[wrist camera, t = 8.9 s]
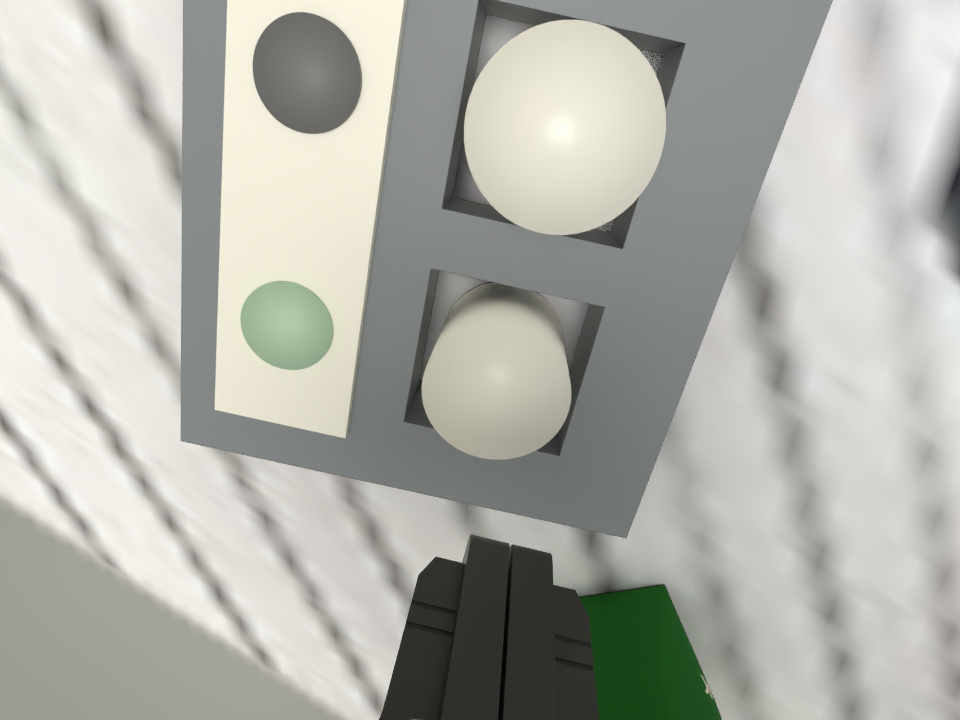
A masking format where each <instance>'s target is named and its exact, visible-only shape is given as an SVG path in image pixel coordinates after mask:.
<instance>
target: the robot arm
mask: <svg viewBox="0 0 960 720" xmlns="http://www.w3.org/2000/svg"><path fill="white" fill-rule="evenodd" d="M591 644H592V642H591V632H590V622H589V615H588V614H587V612H586V610H585V608H584V606H583V604H582V602H581V600H580V599H579V597H578V595H577V593H576V591H575V590H572V589H568V588H564V587H559V586H555V585H553V564H552V555H551V554H550V553H546V552H542V551H538V550H534V549H530V548H526V547H521V546H517V545H513V544H512V545H511V546H510V547H509V544H508V543H504V542H500V541H496V540H492V539H488V538H483V537H479V536H475V535H470V537H469V540H468V544H467V547H466V551H465V555H464V559H463V562H462V563H459V562H455V561H451V560H447V559H443V558H439V557H435V558H434V559H433V560H432V561H431V562H430V563H429V565H428V566H427V567H426V568H425V569H424V570H423V571H422V572H421V573H420V574H419V576H418V579H417V583H416V587H415V591H414V595H413V598H412V602H411V606H410V610H409V613H408V617H407V621H406V625H405V629H404V632H403V636H402V640H401V644H400V648H399V651H398V655H397V659H396V663H395V666H394V670H393V674H392V678H391V682H390V685H389V689H388V693H387V697H386V701H385V704H384V708H383V711H382V714H381V717H380V719H379V720H599V711H598V701H597V691H596V681H595V672H593V668H594V662H593V652H592V649H591Z"/></svg>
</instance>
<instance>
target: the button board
mask: <svg viewBox="0 0 960 720" xmlns="http://www.w3.org/2000/svg"><path fill="white" fill-rule="evenodd" d="M832 1H833V0H407V5H406V13H405V20H404V27H403V35H402V42H401V49H400V57H399V64H398V71H397V79H396V86H395V94H394V101H393V108H392V116H391V123H390V130H389V138H388V145H387V152H386V160H385V167H384V174H383V182H382V189H381V197H380V204H379V211H378V219H377V226H376V233H375V241H374V248H373V255H372V263H371V270H370V277H369V285H368V292H367V300H366V307H365V314H364V322H363V329H362V336H361V344H360V351H359V358H358V366H357V373H356V380H355V388H354V395H353V403H352V410H351V417H350V425H349V432H348V435H347V436H346V438H341V437H336V436H332V435H327V434H323V433H318V432H314V431H309V430H304V429H300V428H295V427H291V426H286V425H282V424H277V423H272V422H268V421H263V420H259V419H254V418H250V417H245V416H241V415H236V414H231V413H227V412H222V411H218V410H215V378H216V346H217V314H218V282H219V250H220V218H221V186H222V154H223V122H224V90H225V58H226V26H227V0H183V126H182V307H181V441H183V442H188V443H192V444H197V445H201V446H206V447H211V448H215V449H220V450H224V451H229V452H233V453H238V454H243V455H247V456H252V457H256V458H261V459H265V460H270V461H275V462H279V463H284V464H288V465H293V466H298V467H302V468H307V469H311V470H316V471H320V472H325V473H330V474H334V475H339V476H343V477H348V478H352V479H357V480H362V481H366V482H371V483H375V484H380V485H384V486H389V487H394V488H398V489H403V490H407V491H412V492H416V493H421V494H426V495H430V496H435V497H439V498H444V499H449V500H453V501H458V502H462V503H467V504H471V505H476V506H481V507H485V508H490V509H494V510H499V511H503V512H508V513H513V514H517V515H522V516H526V517H531V518H535V519H540V520H545V521H549V522H554V523H558V524H563V525H568V526H572V527H577V528H581V529H586V530H590V531H595V532H600V533H604V534H609V535H613V536H618V537H622V538H627V535H628V533H629V530H630V527H631V525H632V522H633V520H634V517H635V514H636V512H637V509H638V507H639V504H640V501H641V499H642V496H643V494H644V491H645V488H646V486H647V483H648V481H649V478H650V475H651V473H652V470H653V467H654V465H655V462H656V460H657V457H658V454H659V452H660V449H661V447H662V444H663V441H664V439H665V436H666V434H667V431H668V428H669V426H670V423H671V421H672V418H673V415H674V413H675V410H676V408H677V405H678V402H679V400H680V397H681V395H682V392H683V389H684V387H685V384H686V382H687V379H688V376H689V374H690V371H691V368H692V366H693V363H694V361H695V358H696V355H697V353H698V350H699V348H700V345H701V342H702V340H703V337H704V335H705V332H706V329H707V327H708V324H709V322H710V319H711V316H712V314H713V311H714V309H715V306H716V303H717V301H718V298H719V296H720V293H721V290H722V288H723V285H724V282H725V280H726V277H727V275H728V272H729V269H730V267H731V264H732V262H733V259H734V256H735V254H736V251H737V249H738V246H739V243H740V241H741V238H742V236H743V233H744V230H745V228H746V225H747V223H748V220H749V217H750V215H751V212H752V210H753V207H754V204H755V202H756V199H757V197H758V194H759V191H760V189H761V186H762V183H763V181H764V178H765V176H766V173H767V170H768V168H769V165H770V163H771V160H772V157H773V155H774V152H775V150H776V147H777V144H778V142H779V139H780V137H781V134H782V131H783V129H784V126H785V124H786V121H787V118H788V116H789V113H790V111H791V108H792V105H793V103H794V100H795V97H796V95H797V92H798V90H799V87H800V84H801V82H802V79H803V77H804V74H805V71H806V69H807V66H808V64H809V61H810V58H811V56H812V53H813V51H814V48H815V45H816V43H817V40H818V38H819V35H820V32H821V30H822V27H823V25H824V22H825V19H826V17H827V14H828V11H829V9H830V6H831V4H832ZM486 14H489V15H493V16H498V17H502V18H506V19H511V20H515V21H520V22H524V23H528V24H533V25H540V24H544V23H547V22H551V21H558V20H583V21H589V22H593V23H597V24H600V25H603V26H606V27H608V28H610V29H612V30H614V31H616V32H618V33H619V34H621V35H622V36H624V37H625V38H627V39H628V40H629V41H630V42H631V43H632V44H634V45H635V46H636V47H637V48H638V49H643V50H647V51H652V52H656V53H660V54H663V56H662V60H661V63H660V67H659V70H658V73H657V79H658V81H659V84H660V86H661V90H662V94H663V97H664V102H665V110H666V133H665V142H664V146H663V150H662V154H661V158H660V160H659V163H658V165H657V168H656V170H655V172H654V174H653V176H652V178H651V180H650V182H649V183H648V185H647V186H646V188H645V189H644V191H643V192H642V194H641V195H640V196H639V197H638V198H637V199H636V200H635V202H634V203H633V204H632V205H631V206H629V207H628V208H627V209H626V210H625V211H624V212H623V213H621V214H620V215H619V216H617V217H616V218H615V220H614V223H613V226H612V230H611V233H610V232H606V231H601V230H597V229H592V230H589V231H585V232H581V233H577V234H569V235H549V234H543V233H538V232H534V231H531V230H528V229H525V228H523V227H521V226H519V225H516V224H515V223H513V222H511V221H510V220H508V219H507V218H505V217H504V216H503V215H501V214H500V213H499V212H498V211H497V210H495V208H494V207H493V206H489V205H485V204H480V203H476V202H472V201H467V200H463V199H458V198H454V197H453V191H454V186H455V180H456V175H457V170H458V164H459V159H460V153H461V148H462V142H463V137H464V121H465V113H466V109H467V105H468V100H469V97H470V94H471V92H472V88H473V82H474V77H475V71H476V66H477V60H478V55H479V50H480V44H481V39H482V33H483V28H484V22H485V17H486ZM439 270H441V271H445V272H450V273H454V274H459V275H463V276H468V277H472V278H477V279H481V280H486V281H490V282H495V283H499V284H504V285H508V286H513V287H517V288H522V289H526V290H531V291H535V292H540V293H544V294H549V295H553V296H558V297H562V298H566V299H571V300H575V301H580V302H584V303H589V304H590V305H589V308H588V311H587V315H586V318H585V322H584V325H583V328H582V332H581V335H580V339H579V342H578V345H577V349H576V352H575V356H574V359H573V362H572V366H571V369H570V373H569V377H570V383H571V404H570V409H569V412H568V415H567V418H566V420H565V422H564V424H563V425H562V427H561V429H560V430H559V431H558V433H557V434H556V435H555V436H554V437H553V438H552V439H551V440H550V441H549V442H548V443H546V444H545V445H544V446H543V447H541V448H539V449H538V450H536V451H534V452H532V453H529V454H527V455H524V456H521V457H518V458H512V459H503V460H493V459H485V458H479V457H476V456H472V455H470V454H467V453H465V452H462V451H461V450H459V449H457V448H455V447H454V446H452V445H451V444H449V443H448V442H447V441H446V440H445V439H443V438H442V437H441V436H440V435H439V433H438V432H437V431H436V430H435V429H434V427H433V426H432V424H431V423H430V421H429V419H428V417H427V415H426V412H425V409H424V406H423V401H422V389H420V388H418V382H419V377H420V371H421V366H422V361H423V355H424V350H425V344H426V339H427V333H428V328H429V322H430V317H431V311H432V306H433V301H434V295H435V290H436V284H437V279H438V273H439Z"/></svg>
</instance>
